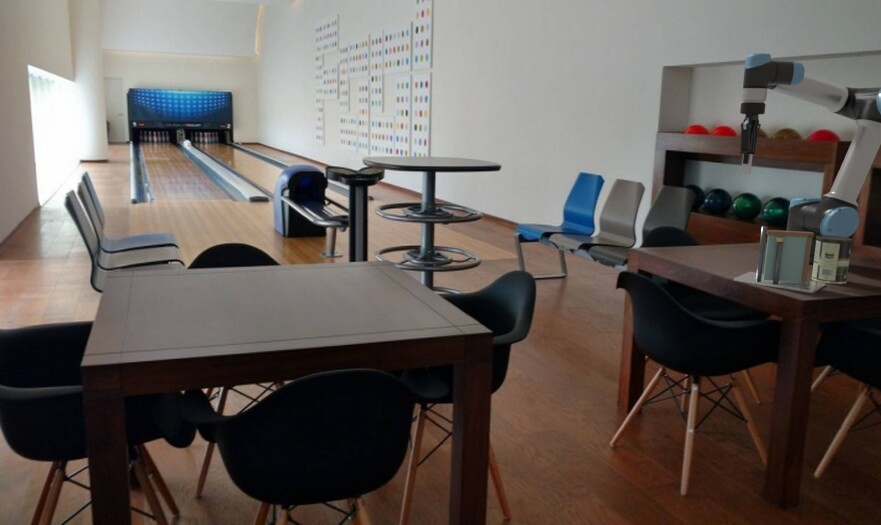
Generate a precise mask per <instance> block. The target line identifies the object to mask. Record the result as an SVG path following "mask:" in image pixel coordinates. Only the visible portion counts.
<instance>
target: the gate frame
mask: <svg viewBox="0 0 881 525" xmlns="http://www.w3.org/2000/svg"><path fill="white" fill-rule="evenodd" d="M767 230H768V226H761V230H760V239H759V245H758V257H757V265H756V272H755V271H754V272H753V271H747V272H746V273H742V274H741V275H739V276H736V277H733V281H734V282H739V283H740V282H741V283H747V284H753V285H758V286H764V287H769V288H771V287H772V288H776V289H783V290H790V291H794V292H801V293H802V292H803V293H806V294H807V293H809V294H815V293H816V292H817V291H818V290H820V289H821V288H824V287H826V283H822V282H817V281H814V280H808V279H807V282H795V281H779V274H780V266H781V258H782V250H783V242H785V238H784V237H777V239H776V241H778V243H777V252H776V260H775V268H774V277H773V280H763V269H764V260H765V252H766V243H767V241H766V240H767Z"/></svg>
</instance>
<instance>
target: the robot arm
mask: <svg viewBox="0 0 881 525" xmlns="http://www.w3.org/2000/svg"><path fill="white" fill-rule="evenodd" d="M744 64H745V65H744V68H743V69H744V75H743V82H742V83H743V84H742V91H741V92H740V95H741V101H742V102H741V103H740V111H739V112H740V114H741V115H745V116H744V119H743V122H741V124H740V130H741V133H740V134H741V135H740V152H739V154H741V155H742V157H741V158H742V159H741V170H740V174H742V175H743V174H744V175H751V172H752V164H753V163H752V162H753V155H756V153H757V152H756V149H757V143H758V138H759V134H760V133H759V132H760V129H761V126H762V125H761V123H760V120H759V115H764V114H765V111H766V105H767V104H766V103H765V102H766V101H767V96H768V90H770V91H773V92H777V93H779V94H784V95H787V96H790V97H793V98H797V99H800V100H802V101H805V102H808V103H812V104H814V105H817V106H818V105H819V106H821V107H825V108H827V110H828V112H830V113H833V114H836V115H839V116H841V117H845V118H847V119H850V120H853V121H855V123H856V126H857V130H856V132H855V133H854V136H853V138H852V141H851V143H850V145H849V147H848V150H847V152H846V155H845V157H844V160H843V161H842V163H841V166H840V167H839V168H840V169H839V170H838V172H837V175H836V177H835V179H834V181H833V183H832V186H831V188H830V191H829V192H828V193H825V194H823V195H822V197H794V198H792V199H791V200H790V203H789V207H788V217H787V225H786V226H787V227H786V231H798V232H813V233H814V235H813V238H812V244H811V252H810V259H809V264H814V256H815V248H816V240H817V239H816V237H817V236H839V237H846V238H850V237H851V236H852V235H853V234H854V233H855V232H856V231H857V229H858V227H859V224H860V218H859V216H860V215H859V213H858V212H857V211H858V208H859V204H858V202H857V199H858V198H859V197H858V196H859V194H860V192H861V189H862V188H863V185H864V183H865V181H866V179H867V177H868V174H869V172H870V169H871V167H872V165H873V163H874V161H875V158H876V156H877V154H878V151H879V149H880V147H881V86H880V87H849V86H845V85H839V86H835V85H832V84H830V83H825V82H822V81H820V80H816V79H813V78H810V77H807V76H805V72H806V68H805V66H804V64H803V63H802V62H799V61H794V60H793V61H785V60H783V61H781V60H772V55H771V54H770V53H765V52H763V53H762V52H761V53H757V52H756V53H749V54H748V55H747V56H746V58H745V63H744Z"/></svg>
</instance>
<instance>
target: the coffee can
mask: <svg viewBox="0 0 881 525" xmlns="http://www.w3.org/2000/svg"><path fill="white" fill-rule="evenodd" d="M816 239H817V240H816V248H815V256H814V263H812V264H813V265H812V272H811V273H812V274H811V281H815V282H822V283H825V284H829V285H844V284H847V280H848V273H849V266H850V265H849V264H850V258H851V252H852V243H853V240H854V239H853V238H850V237H847V238H846V237H839V236H817V237H816Z"/></svg>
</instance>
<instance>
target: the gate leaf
mask: <svg viewBox="0 0 881 525" xmlns="http://www.w3.org/2000/svg"><path fill="white" fill-rule="evenodd" d="M813 235H814V233H813V232H798V231H787V230H776V229H775V230H774V229H773V230H772V229H771V230H770V229H769V230H768V229H767V234H766V236H767V238H766V240H767V241H766V247H765V255H764V264H763V272H762V274H763V280H773V277H774V268H775V260H776V252H777V243H778V241H776V239H777V237H784V238H785V242H783V250H782V258H781V266H780V274H779V281H795V282H807V280H808V273H809V266H810V265H809V264H810V263H809V259H810V252H811V244H812V238H813Z"/></svg>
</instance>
